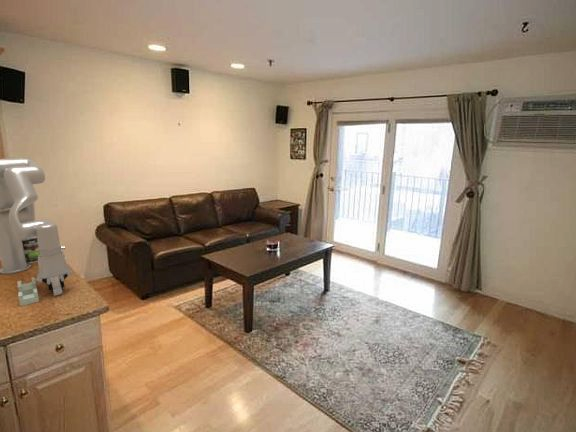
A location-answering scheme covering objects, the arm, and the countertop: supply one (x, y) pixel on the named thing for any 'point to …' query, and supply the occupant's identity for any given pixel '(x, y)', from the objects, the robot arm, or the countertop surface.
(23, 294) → the cradle
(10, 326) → the countertop surface
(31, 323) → the countertop surface
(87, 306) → the countertop surface
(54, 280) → the axle
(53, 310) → the countertop surface
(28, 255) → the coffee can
